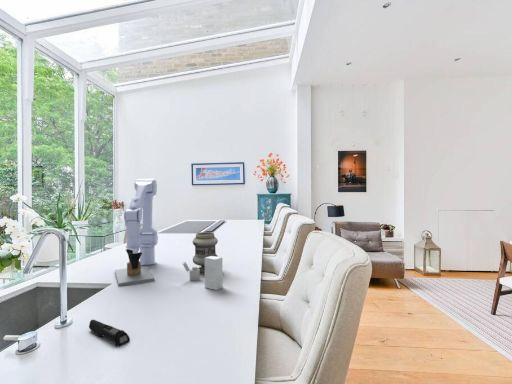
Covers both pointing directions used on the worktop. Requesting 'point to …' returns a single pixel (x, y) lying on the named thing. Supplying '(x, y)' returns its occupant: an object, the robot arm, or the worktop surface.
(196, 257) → the apothecary jar
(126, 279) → the grey peg base
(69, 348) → the worktop surface
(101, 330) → the electric trimmer
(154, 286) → the worktop surface
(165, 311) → the worktop surface
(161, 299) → the worktop surface
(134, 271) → the walnut bead
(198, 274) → the lighter
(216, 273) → the skincare box
